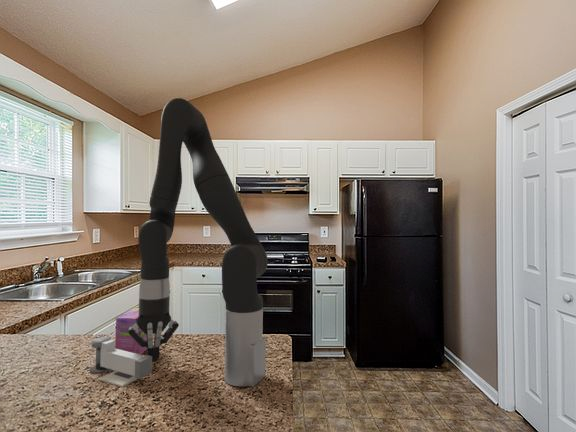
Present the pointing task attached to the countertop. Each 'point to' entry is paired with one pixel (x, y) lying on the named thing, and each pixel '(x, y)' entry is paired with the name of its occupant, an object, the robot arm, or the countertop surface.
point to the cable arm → (122, 359)
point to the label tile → (118, 378)
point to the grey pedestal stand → (98, 363)
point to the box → (123, 337)
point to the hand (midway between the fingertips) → (153, 360)
